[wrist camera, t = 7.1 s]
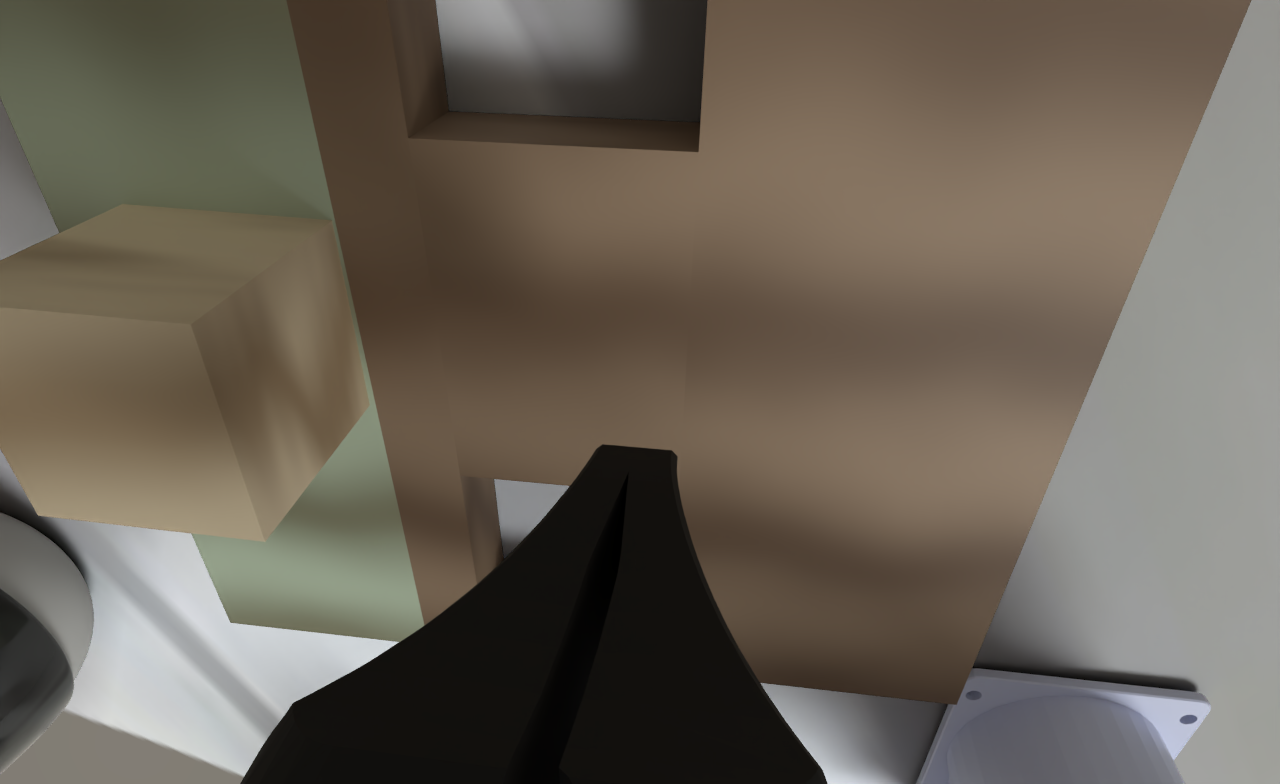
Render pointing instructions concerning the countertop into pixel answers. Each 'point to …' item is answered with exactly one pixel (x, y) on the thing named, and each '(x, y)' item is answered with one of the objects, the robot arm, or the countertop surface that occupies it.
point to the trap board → (670, 285)
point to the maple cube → (177, 368)
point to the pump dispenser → (37, 634)
